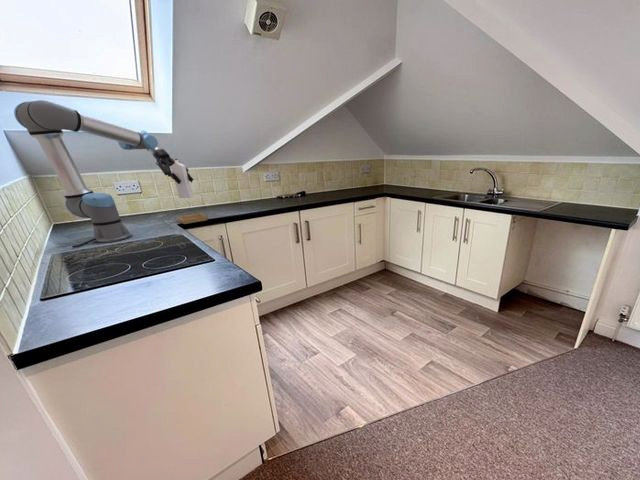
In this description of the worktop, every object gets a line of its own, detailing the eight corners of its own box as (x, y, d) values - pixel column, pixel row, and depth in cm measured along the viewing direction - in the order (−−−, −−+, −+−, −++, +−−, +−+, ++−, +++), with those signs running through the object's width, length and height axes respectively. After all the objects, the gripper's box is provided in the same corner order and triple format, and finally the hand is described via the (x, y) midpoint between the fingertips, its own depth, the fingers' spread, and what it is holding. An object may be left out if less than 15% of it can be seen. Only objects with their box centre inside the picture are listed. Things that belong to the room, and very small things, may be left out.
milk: (179, 198, 185) (168, 160, 176) (182, 196, 191) (172, 160, 182) (190, 197, 186) (179, 160, 177) (193, 196, 192) (183, 159, 183)
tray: (184, 224, 186) (182, 220, 185) (177, 221, 194) (176, 217, 193) (207, 220, 195) (206, 216, 194) (200, 217, 204) (199, 213, 203)
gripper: (173, 157, 193) (198, 183, 194) (141, 159, 175) (168, 188, 177) (176, 148, 189) (202, 175, 191) (144, 149, 171) (172, 179, 173)
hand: (186, 181), depth 184 cm, fingers closed on milk, 8 cm apart
